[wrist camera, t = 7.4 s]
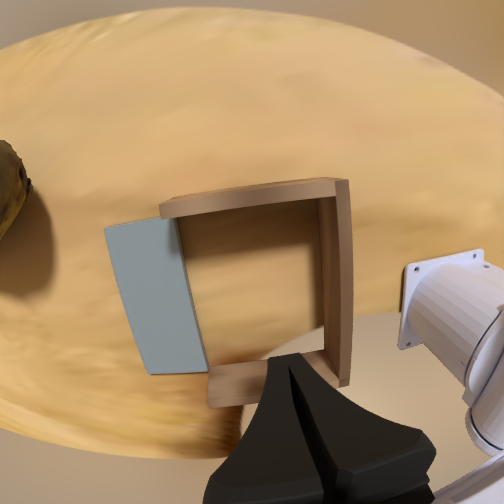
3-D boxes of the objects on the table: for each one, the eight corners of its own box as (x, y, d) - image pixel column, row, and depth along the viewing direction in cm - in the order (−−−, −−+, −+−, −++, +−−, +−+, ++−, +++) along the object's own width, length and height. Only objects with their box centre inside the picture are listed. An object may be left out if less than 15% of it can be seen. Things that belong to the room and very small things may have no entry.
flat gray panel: (172, 216, 18) (103, 228, 18) (207, 371, 21) (147, 373, 21) (175, 214, 18) (108, 226, 19) (208, 365, 22) (150, 368, 22)
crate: (325, 177, 19) (348, 179, 15) (333, 354, 23) (349, 385, 19) (173, 197, 18) (158, 204, 15) (211, 373, 22) (209, 408, 18)
